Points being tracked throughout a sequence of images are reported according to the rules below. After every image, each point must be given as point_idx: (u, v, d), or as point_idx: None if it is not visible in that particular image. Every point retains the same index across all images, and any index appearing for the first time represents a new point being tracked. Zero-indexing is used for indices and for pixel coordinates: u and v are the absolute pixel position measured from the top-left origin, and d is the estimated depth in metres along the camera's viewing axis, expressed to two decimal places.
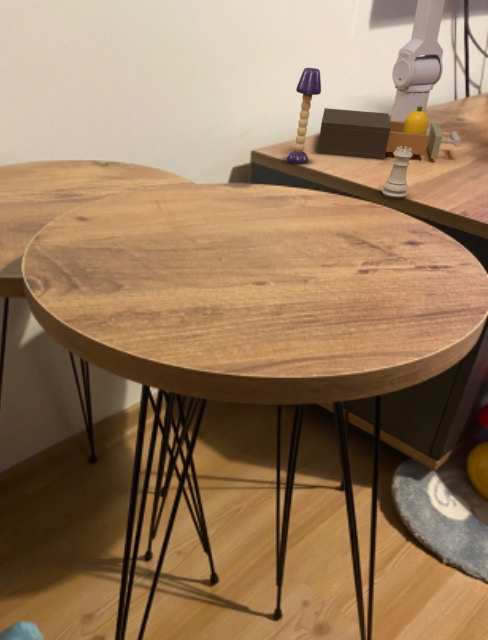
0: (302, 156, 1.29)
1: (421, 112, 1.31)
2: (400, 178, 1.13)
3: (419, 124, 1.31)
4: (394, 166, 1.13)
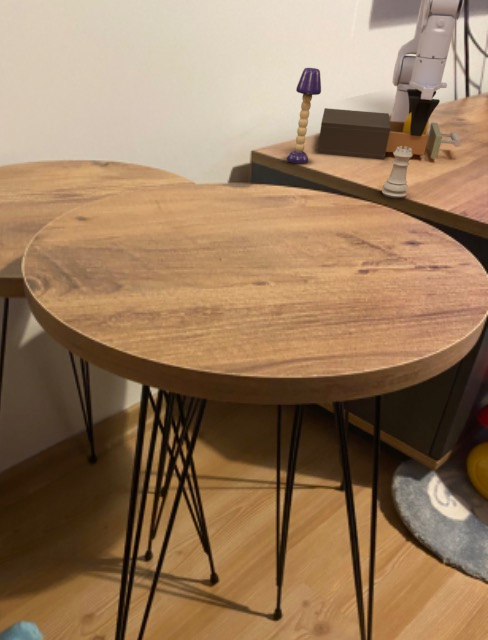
0: (302, 156, 1.29)
1: None
2: (400, 178, 1.13)
3: None
4: (394, 166, 1.13)
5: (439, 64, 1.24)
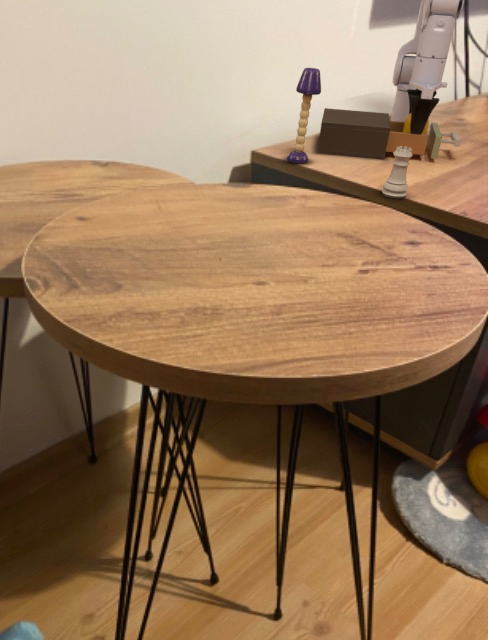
0: (302, 156, 1.29)
1: None
2: (400, 178, 1.13)
3: None
4: (394, 166, 1.13)
5: (439, 64, 1.24)
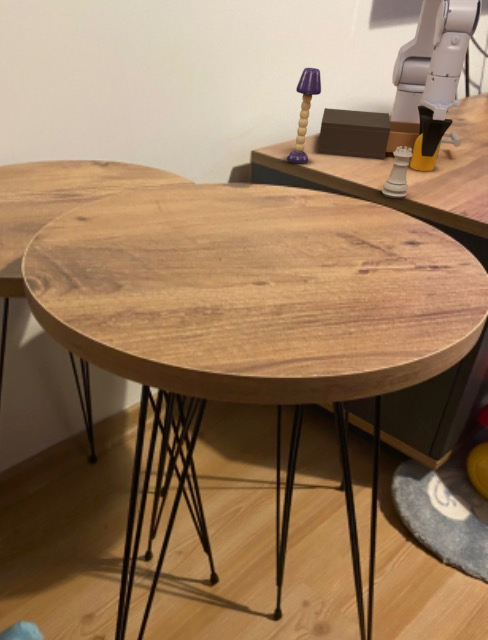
0: (302, 156, 1.29)
1: None
2: (400, 178, 1.13)
3: None
4: (394, 166, 1.13)
5: (452, 82, 1.18)
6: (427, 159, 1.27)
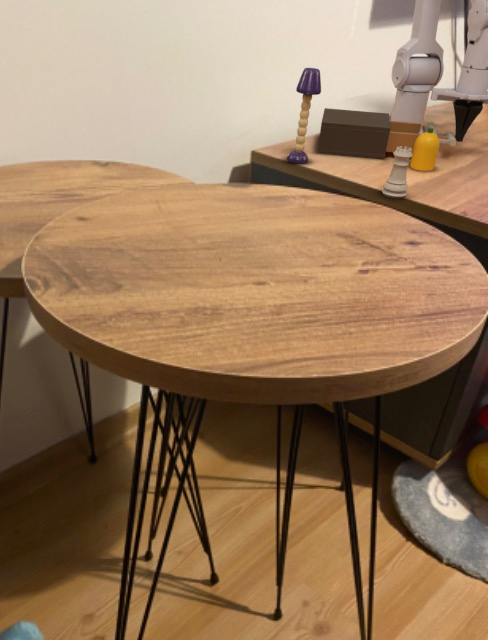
0: (302, 156, 1.29)
1: (432, 134, 1.25)
2: (400, 178, 1.13)
3: (430, 146, 1.25)
4: (394, 166, 1.13)
5: (464, 72, 1.26)
6: (427, 159, 1.27)
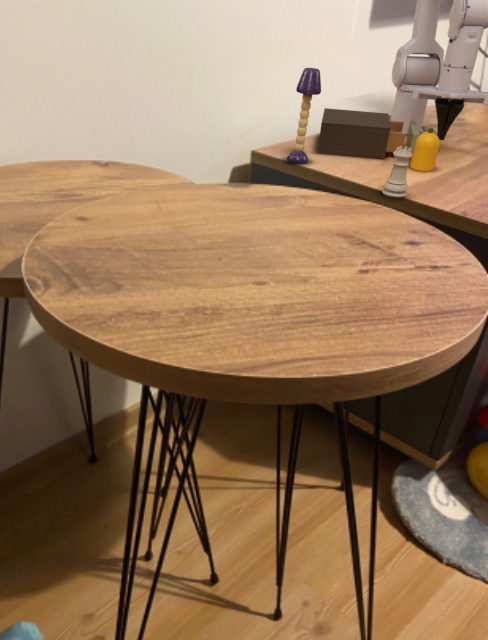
0: (302, 156, 1.29)
1: (432, 134, 1.25)
2: (400, 178, 1.13)
3: (430, 146, 1.25)
4: (394, 166, 1.13)
5: (445, 71, 1.26)
6: (427, 159, 1.27)
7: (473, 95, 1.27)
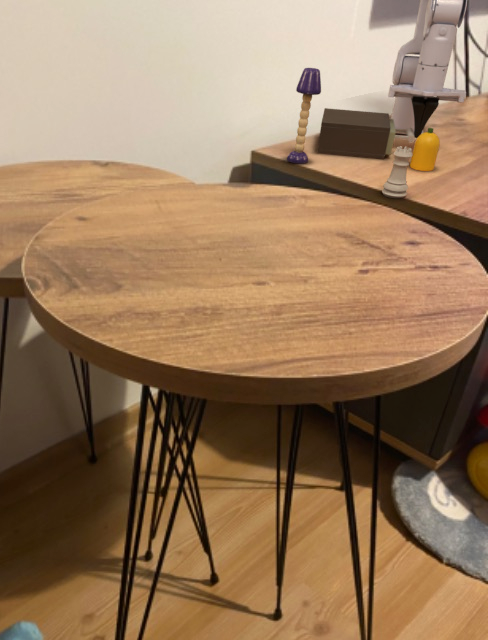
0: (302, 156, 1.29)
1: (432, 134, 1.25)
2: (400, 178, 1.13)
3: (430, 146, 1.25)
4: (394, 166, 1.13)
5: (419, 69, 1.27)
6: (427, 159, 1.27)
7: (448, 93, 1.28)
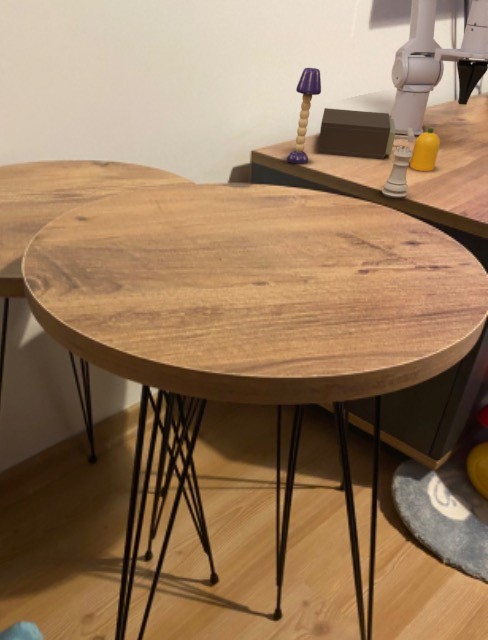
0: (302, 156, 1.29)
1: (432, 134, 1.25)
2: (400, 178, 1.13)
3: (430, 146, 1.25)
4: (394, 166, 1.13)
5: (468, 30, 1.22)
6: (427, 159, 1.27)
7: None
